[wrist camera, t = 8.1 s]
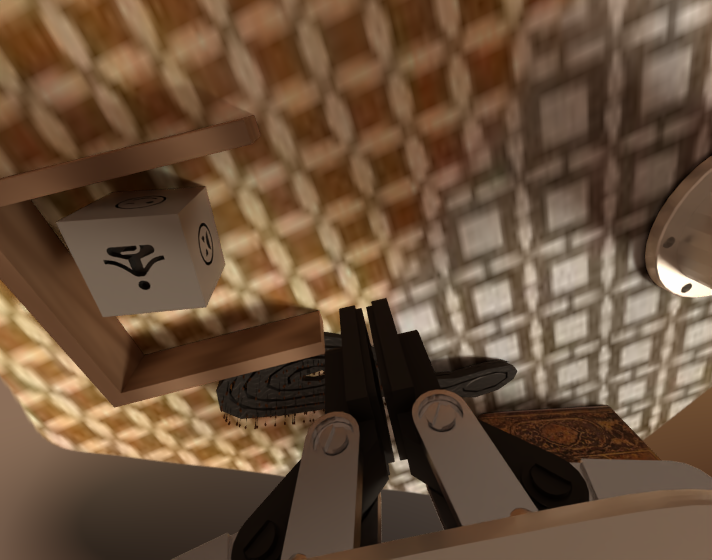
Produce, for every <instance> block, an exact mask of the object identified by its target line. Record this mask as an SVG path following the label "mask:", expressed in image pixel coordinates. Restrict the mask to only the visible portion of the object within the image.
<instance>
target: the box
mask: <svg viewBox="0 0 712 560" xmlns="http://www.w3.org/2000/svg"><path fill="white" fill-rule="evenodd" d="M260 136H261V134H260V131H259V128H258V126H257V123H256V120H255V117H254V115H253V116H249V117H245V118H241V119H237V120H233V121H229V122H225V123H221V124H217V125H213V126H209V127H205V128H201V129H197V130H193V131H189V132H185V133H181V134H177V135H173V136H169V137H165V138H161V139H157V140H153V141H149V142H145V143H141V144H137V145H133V146H129V147H125V148H121V149H117V150H113V151H109V152H105V153H101V154H97V155H92V156H88V157H84V158H80V159H76V160H72V161H68V162H64V163H60V164H56V165H52V166H48V167H44V168H40V169H36V170H32V171H28V172H24V173H20V174H16V175H12V176H8V177H4V178H0V279H1V280H2V282H3V283H4V284H5V285H6V286H7V287H8V288H9V289H10V291H11V292H12V293H13V294H14V295H15V296H16V297H17V298H18V300H19V301H20V302H21V303H22V304H23V305H24V306H25V307H26V309H27V310H28V311H29V312H30V313H31V314H32V315H33V316H34V318H35V319H36V320H37V321H38V322H39V323H40V324H41V325H42V327H43V328H44V329H45V330H46V331H47V332H48V333H49V334H50V336H51V337H52V338H53V339H54V340H55V341H56V342H57V343H58V345H59V346H60V347H61V348H62V349H63V350H64V351H65V352H66V354H67V355H68V356H69V357H70V358H71V359H72V360H73V361H74V362H75V364H76V365H77V366H78V367H79V368H80V369H81V370H82V371H83V373H84V374H85V375H86V376H87V377H88V378H89V379H90V380H91V382H92V383H93V384H94V385H95V386H96V387H97V388H98V389H99V391H100V392H101V393H102V394H103V395H104V396H105V397H106V398H107V400H108V401H109V402H110V403H111V404H112V405H113V406H114V407H118V406H122V405H126V404H130V403H134V402H138V401H142V400H145V399H149V398H153V397H157V396H161V395H165V394H169V393H173V392H177V391H181V390H184V389H188V388H192V387H196V386H200V385H204V384H208V383H212V382H216V381H219V380H223V379H227V378H231V377H235V376H239V375H243V374H247V373H251V372H254V371H258V370H262V369H266V368H270V367H274V366H278V365H282V364H286V363H289V362H293V361H297V360H301V359H305V358H309V357H313V356H317V355H321V354H324V353H325V343H324V330H323V320H322V317H321V314H320V311H315V312H312V313H308V314H304V315H300V316H296V317H292V318H288V319H284V320H280V321H276V322H272V323H268V324H265V325H261V326H257V327H253V328H249V329H245V330H241V331H237V332H233V333H229V334H225V335H222V336H218V337H214V338H210V339H206V340H202V341H198V342H194V343H190V344H186V345H182V346H178V347H175V348H171V349H167V350H163V351H159V352H155V353H151V354H147V355H143V353H142V352H141V350H140V349H139V348H138V346H137V345H136V344H135V342H134V341H133V340H132V338H131V337H130V335H129V334H128V333H127V331H126V330H125V329H124V327H123V326H122V324H121V323H120V322H119V320H118V319H117V318H116V316H110V317H103V316H102V314H101V312H100V310H99V308H98V306H97V304H96V302H95V300H94V298H93V296H92V294H91V292H90V290H89V288H88V286H87V284H86V282H85V280H84V278H83V276H82V274H81V272H80V270H79V268H78V266H77V264H76V262H75V260H74V259H73V257H72V256H71V255H70V253H69V252H68V251H67V249H66V248H65V246H64V245H63V244H62V242H61V241H60V240H59V238H58V237H57V236H56V234H55V233H54V231H53V230H52V229H51V227H50V226H49V225H48V223H47V222H46V220H45V219H44V218H43V216H42V215H41V214H40V212H39V211H38V210H37V208H36V207H35V205H34V204H33V203H32V201H31V200H30V199H34V198H38V197H42V196H46V195H50V194H54V193H58V192H62V191H66V190H70V189H74V188H78V187H82V186H86V185H90V184H94V183H98V182H102V181H106V180H110V179H114V178H118V177H122V176H126V175H130V174H134V173H138V172H142V171H146V170H150V169H154V168H158V167H162V166H166V165H170V164H174V163H178V162H182V161H186V160H190V159H194V158H198V157H202V156H206V155H210V154H214V153H218V152H222V151H226V150H230V149H234V148H238V147H242V146H246V145H250V144H252V143H253V142H254V141H255V140H257V139H258V138H259V137H260Z"/></svg>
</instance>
